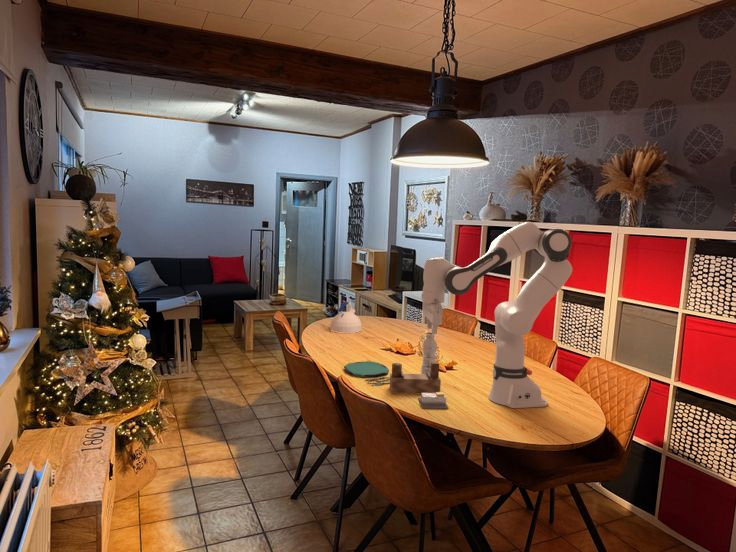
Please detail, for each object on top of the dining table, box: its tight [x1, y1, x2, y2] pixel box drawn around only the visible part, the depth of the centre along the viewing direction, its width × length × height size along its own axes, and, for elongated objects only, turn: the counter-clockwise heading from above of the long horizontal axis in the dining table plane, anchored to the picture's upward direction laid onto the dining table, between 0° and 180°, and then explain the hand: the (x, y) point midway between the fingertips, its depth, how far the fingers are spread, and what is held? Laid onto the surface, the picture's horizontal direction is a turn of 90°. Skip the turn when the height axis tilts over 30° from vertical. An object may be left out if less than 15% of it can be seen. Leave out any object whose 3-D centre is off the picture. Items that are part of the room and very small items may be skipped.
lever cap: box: [420, 391, 447, 405], centre depth 194 cm, size 9×4×4 cm, turn 93°
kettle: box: [329, 301, 363, 334], centre depth 314 cm, size 20×21×18 cm
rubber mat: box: [417, 397, 450, 410], centre depth 194 cm, size 10×10×1 cm
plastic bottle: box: [420, 332, 438, 374], centre depth 227 cm, size 6×7×20 cm
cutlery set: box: [343, 360, 390, 387], centre depth 228 cm, size 20×30×2 cm, turn 25°
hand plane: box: [389, 361, 442, 395], centre depth 208 cm, size 20×7×12 cm, turn 93°
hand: (431, 331), depth 204 cm, fingers open, 8 cm apart
